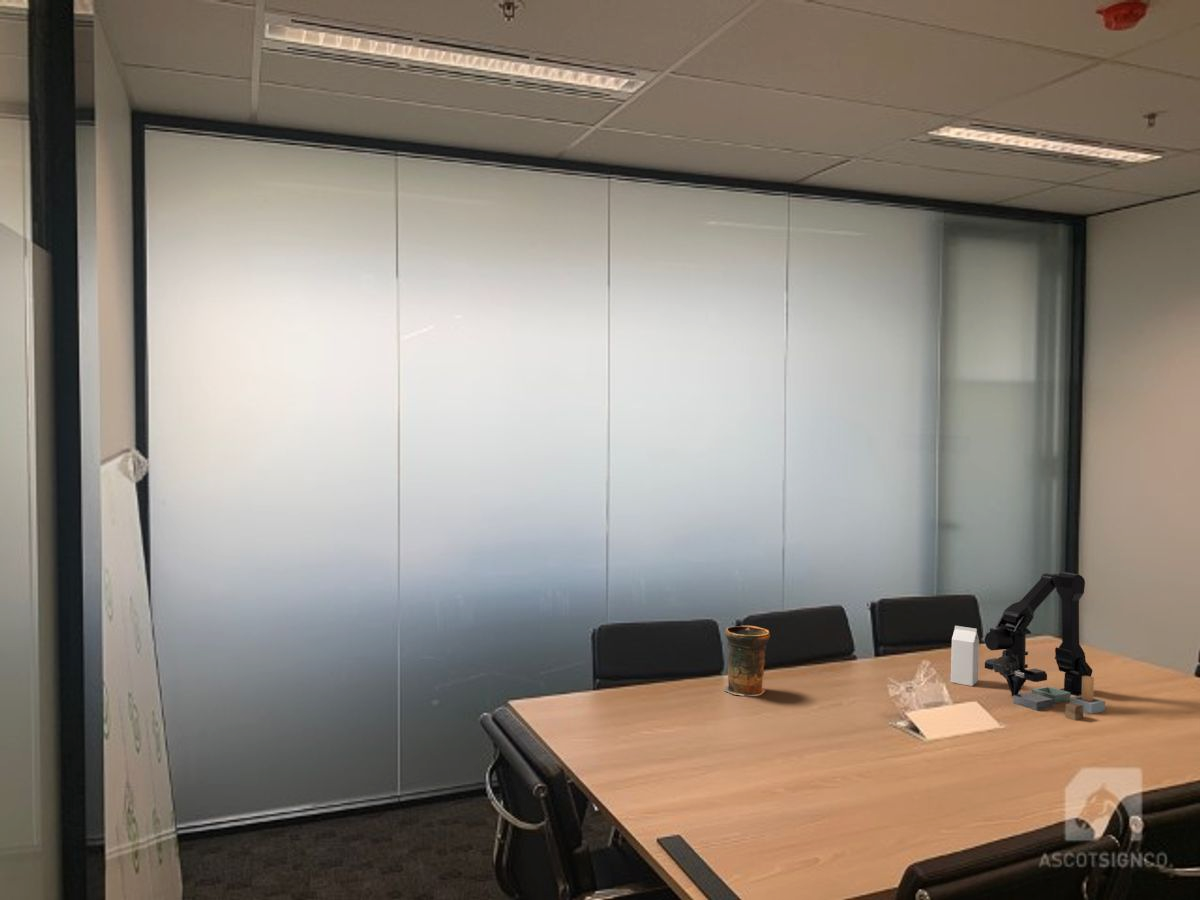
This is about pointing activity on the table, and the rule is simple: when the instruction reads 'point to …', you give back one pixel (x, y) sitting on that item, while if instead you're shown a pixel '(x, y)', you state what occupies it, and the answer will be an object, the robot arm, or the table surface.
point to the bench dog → (1074, 711)
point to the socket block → (1089, 704)
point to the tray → (1053, 694)
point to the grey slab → (1033, 701)
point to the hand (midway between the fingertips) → (1014, 696)
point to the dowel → (1087, 688)
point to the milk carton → (964, 656)
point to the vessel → (746, 659)
